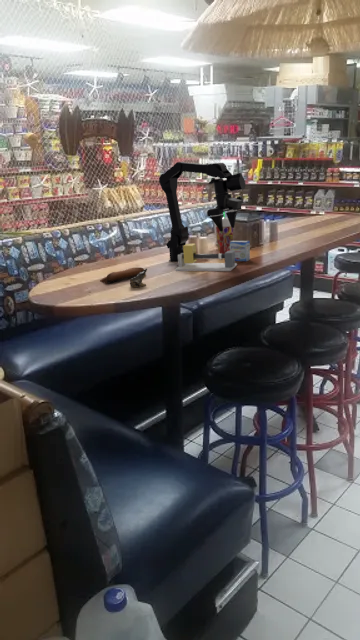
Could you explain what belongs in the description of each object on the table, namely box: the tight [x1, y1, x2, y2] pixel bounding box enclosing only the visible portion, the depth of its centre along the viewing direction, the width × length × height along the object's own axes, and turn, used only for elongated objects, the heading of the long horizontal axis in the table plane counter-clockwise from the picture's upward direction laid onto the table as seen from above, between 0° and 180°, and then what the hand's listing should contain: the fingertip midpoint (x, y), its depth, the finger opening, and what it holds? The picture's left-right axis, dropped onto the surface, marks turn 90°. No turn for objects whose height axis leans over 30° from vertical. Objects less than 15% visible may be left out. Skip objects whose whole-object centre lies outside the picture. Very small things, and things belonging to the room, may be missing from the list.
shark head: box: [129, 268, 148, 288], centre depth 196 cm, size 8×6×7 cm
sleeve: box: [183, 243, 198, 263], centre depth 221 cm, size 4×5×8 cm
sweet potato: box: [99, 266, 147, 285], centre depth 211 cm, size 18×7×7 cm, turn 126°
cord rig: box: [174, 251, 238, 272], centre depth 220 cm, size 24×12×7 cm, turn 70°
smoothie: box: [215, 211, 234, 254], centre depth 246 cm, size 8×8×20 cm
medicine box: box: [230, 240, 251, 262], centre depth 230 cm, size 8×4×9 cm, turn 62°
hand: (227, 229), depth 224 cm, fingers open, 9 cm apart
